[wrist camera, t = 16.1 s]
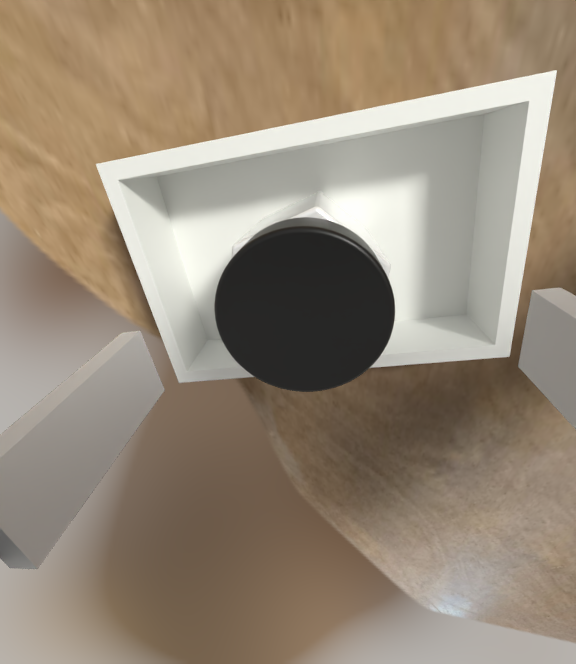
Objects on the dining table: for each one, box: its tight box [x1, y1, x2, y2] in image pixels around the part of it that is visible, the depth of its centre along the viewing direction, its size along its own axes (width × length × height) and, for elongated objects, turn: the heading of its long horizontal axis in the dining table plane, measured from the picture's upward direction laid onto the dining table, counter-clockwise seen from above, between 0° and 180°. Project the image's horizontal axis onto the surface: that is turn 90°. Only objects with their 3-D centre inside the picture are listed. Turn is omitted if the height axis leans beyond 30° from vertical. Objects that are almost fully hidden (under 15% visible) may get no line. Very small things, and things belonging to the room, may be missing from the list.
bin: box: [96, 70, 557, 383], centre depth 23 cm, size 24×16×6 cm, turn 99°
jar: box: [214, 191, 395, 392], centre depth 20 cm, size 9×8×12 cm
